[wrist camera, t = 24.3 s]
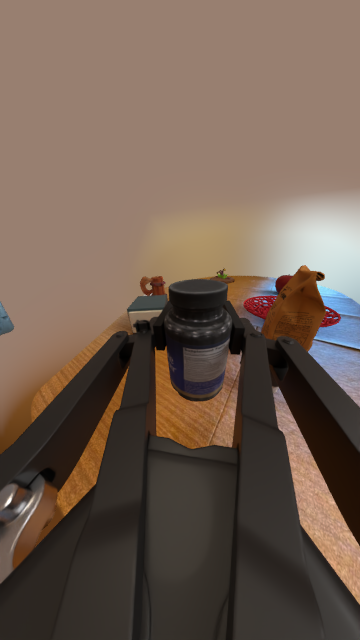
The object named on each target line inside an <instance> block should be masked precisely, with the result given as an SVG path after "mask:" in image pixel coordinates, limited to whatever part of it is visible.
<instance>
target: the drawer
mask: <svg viewBox="0 0 360 640" xmlns="http://www.w3.org/2000/svg"><path fill="white" fill-rule="evenodd" d="M161 312H162V310H147V311H133V312H129V313H128V314H129V318H130V322H131V326H132V330H133V333H136V328H135V323H136V322H138V321H140V320H148V321H150V319H151V318H153V317H159V315H160V313H161Z"/></svg>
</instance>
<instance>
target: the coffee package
mask: <svg viewBox="0 0 360 640" xmlns="http://www.w3.org/2000/svg"><path fill="white" fill-rule="evenodd" d="M324 278H325V276H324V274H323V273H321V272H317V271H310V270H309V269H308V268H307V266H306V265H304V266H301V267H300V269H298V271H297V272H296V274H294V276H293V277H292V278H291V279H290V280H289V282H288V283H287V284H286V285H285V286H284V287H283V289H282V290H281V291H280V293H279V294H278V296H277V298H276V300H275V302H274V303H273V305H272V307H271V308H270V310H269V312H268V314H267V317H266V320H265V322H264V325H263V328H262V331H261V333H262V334H264V336H265V338H267V339H271V340H277V337H279V336H287V337H291V338H293V339H295V340H296V341H298V342H299V343H300V345H301V346H302V347H303V348H304V349H305V350H306V351H307V352H308V351H309V349H310V348H311V346H312V341H313V338H314V337H315V336H316V333H317V331H318V329H319V326H320V324H321V322H322V320H323V318H324V316H325V314H326V310H325V306H324V303H323V300H322V298H321V295H320V293H319V291H318V288H317V284H316V281H321V280H324Z"/></svg>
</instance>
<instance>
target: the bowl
mask: <svg viewBox="0 0 360 640" xmlns="http://www.w3.org/2000/svg"><path fill="white" fill-rule="evenodd" d="M264 297H265V298H267V299H265V298H264ZM268 297H270V298H268ZM255 298H259V299H255ZM261 298H263V299H261ZM271 298H273V299H271ZM275 298H277V296H258V297H252V298H249V299H247V300H246V301H245V302H244V308H245V309H246V310H247V311H248V312H250V313H252V314H254V315H255V316H258V317H260V318H262V319H265V320H266V317H267V314H268V312H269V310H270V308H271V307H272V305H273V303H274V302H275V301H273V300H276V299H275ZM251 299H252V300H251ZM248 300H249V302H247V301H248ZM250 300H251V301H250ZM254 300H257V301H258V302H254ZM259 300H261V301H259ZM262 300H266V301H267V302H268V303H264V302H263V301H262ZM270 300H271V301H270ZM246 302H247V303H246ZM259 302H261V303H262V304H260V303H259ZM269 302H271V303H269ZM245 304H246V305H247V306H246V305H245ZM256 304H258V305H256ZM263 304H268V306H264V305H263ZM270 304H272V305H270ZM253 305H255V306H256V307H254V306H253ZM248 306H249V307H248ZM260 306H261V307H263V308H259V307H260ZM325 309H328V310H329V312H328V311H326V314H325V317H324V318H323V319H324V320H322V322H323V323H321V324H320V326H319V327H327V326H332V325H335V324H337V323H339V321H340V319H341V317H340V314H338V313H337V312H336V311H334V310H332V309H331V308H329V307H326V306H325ZM255 311H256V312H255ZM332 312H333V313H334V314H333V315H332V314H329V313H332ZM336 315H337V316H336ZM326 317H332V318H326ZM335 317H338V319H333V318H335ZM337 320H338V321H337Z"/></svg>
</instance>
